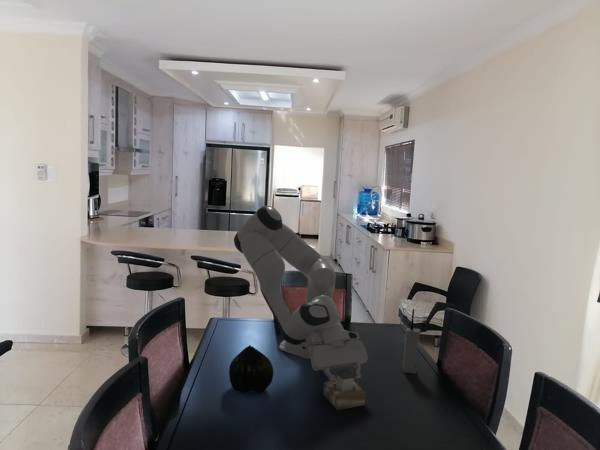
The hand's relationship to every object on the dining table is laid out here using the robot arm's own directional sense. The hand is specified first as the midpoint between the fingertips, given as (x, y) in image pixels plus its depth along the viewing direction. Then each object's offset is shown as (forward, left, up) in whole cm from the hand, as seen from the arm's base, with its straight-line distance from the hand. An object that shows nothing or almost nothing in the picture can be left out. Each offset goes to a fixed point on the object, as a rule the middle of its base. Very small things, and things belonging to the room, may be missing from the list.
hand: (345, 379), depth 141 cm
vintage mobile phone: (+17, +33, -8) cm, 38 cm away
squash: (-31, -8, -8) cm, 33 cm away
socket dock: (0, 0, -7) cm, 7 cm away
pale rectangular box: (0, 0, -6) cm, 6 cm away
